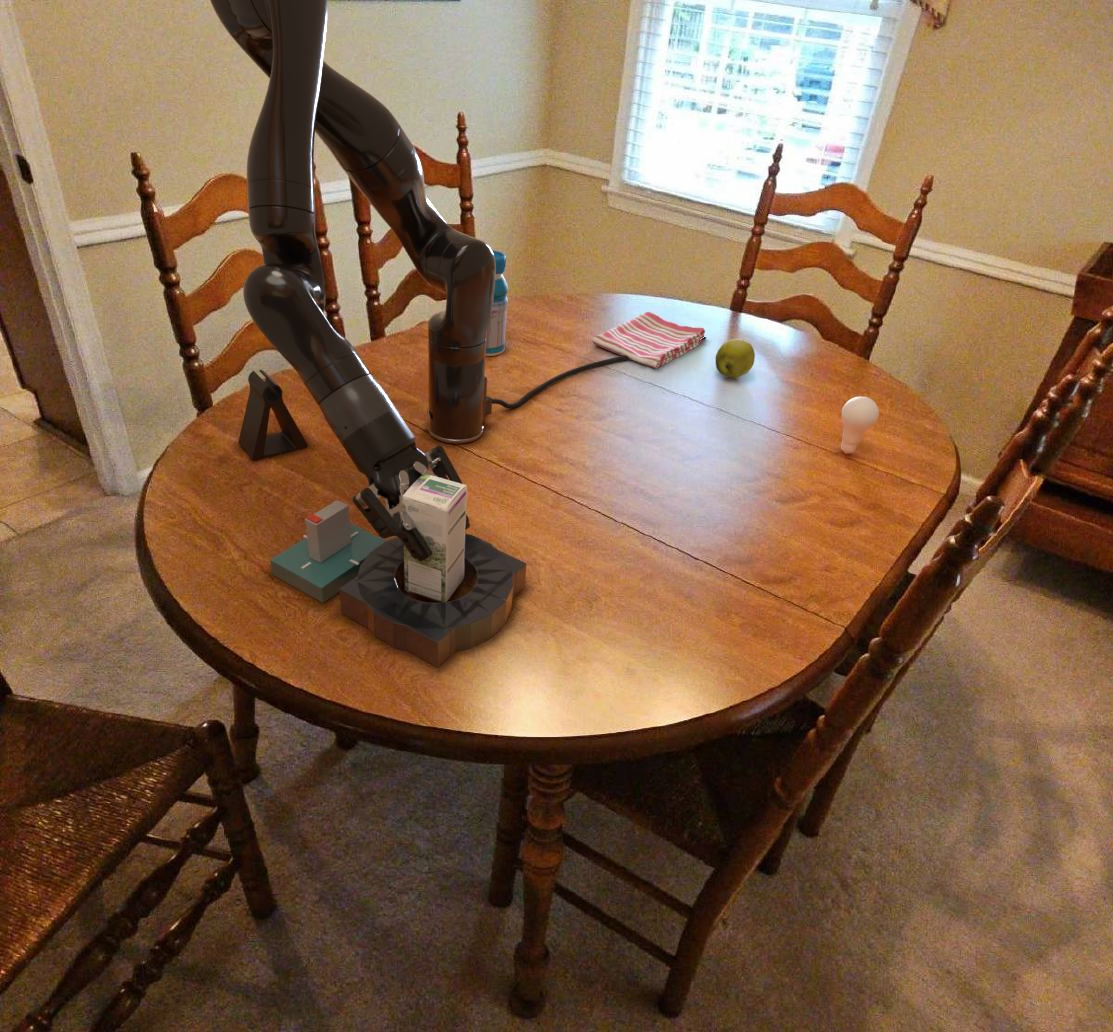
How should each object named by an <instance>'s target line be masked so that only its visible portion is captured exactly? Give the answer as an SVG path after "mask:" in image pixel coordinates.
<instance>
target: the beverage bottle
mask: <svg viewBox="0 0 1113 1032" xmlns="http://www.w3.org/2000/svg"><path fill="white" fill-rule="evenodd" d="M491 250H492V252H493V254H494V258H495V265H496V277H495V289H494V299H493V309H492V317H491V320H490V323H489V326H488V328H487V331H486V351H485V357H495V356H498V355H500V354H502V353H503V352H505V349H506V330H507V329H506V327H507V311H508V306H509V300H508V299H509V298H508V296H507V294H508V292H509V286H508V283H507V280H506V278H505V276H504V275H503V274H505V272H506V268H507V255H506V254H505V253H503V252H501V251H499V250H495V249H494V250H493V249H491Z"/></svg>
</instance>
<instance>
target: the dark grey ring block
mask: <svg viewBox="0 0 1113 1032" xmlns="http://www.w3.org/2000/svg"><path fill="white" fill-rule="evenodd" d="M526 577H527V562H525V561H523V560H521V559H518V558H517V557H515V556H512V555H510V554H508V553H506V552H504V551H501V550H499V549H498V548H497V547H496V546H494V545H493V544H492V543H490V542H488V541H486V540H484V539H482V538H480V537H478V536H475V535H473V534H469V533H465V552H464V579H463V580H462V582H465V583H466V584H467V585H468V586H469V587H470V588H471V590H469V592H467V593H466V594H465V595H463V596H461V597H458V598H456V599H454V600H450V601H449V600H448V601H447V602H443V603H442V602H426V601H422V600H417V599H414V598H412V597H410V596H408V595H407V594H405V593H404V592H403V591H402V590H401V589H402V588H403V587H405V570H404V544H403V542H402V541H401V539H400V538H399V537H397V536H395V537H393V538H390V539H388V540H386V542H384V543H383V544H381V545H380V546H379V547H377V548H376V549H374V550H373V551H371V552H370V553H369V554H368V556H367V557H366V558H365V560H364V561H363V562H362V564H361V565H360V567H359V572H358V576H356V577H355V578H354V579H352V580H351V581H349V582H348V583H347V584H345V585H344V586H342V587H341V588H340V589H339V592H338V593H339V600H340V601H339V605H340V613H341V615H342V616H345V617H346V618H348V619H350V620H351V621H354V622H356V623H357V624H359V625H361V626H362V627H364V628H366V629H368V630H369V631H370V632H371V634H372V635H373V636H374V637H375V638H376V639H378V640H381V641H382V642H384V643H386V644H388V645H389V646H391V647H393V648H395V649H399V650H403V651H406V652H409V653H410V654H412V655H414V656H416V657H418V658H420V659H421V660H423V661H425V662H427V663H429V664H430V665H432V666H434V667H435V668H439V667H440V666H441V665H442V664H443V663H444V662H445V661H446V660H448V658H450V657H451V656H452V655H453V654H454V653H456V652H461V651H465V650H469V649H472V648H474V647H475V646H478V645H480V644H481V643H484V642H486V641H488V640H490V639H491V638H492V637H493V636H494V635H495V634H496V633H498V631H499V630H501V629H502V628H503V627H504V625H506V622H507V620H508V618H509V615H510V613H511V611H512V609H513V608H512V607H513V598H514V597H515V596H517V595H518V594H519V593H520V592H521V591H522V590H523V589H524V588H525V586H526Z"/></svg>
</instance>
